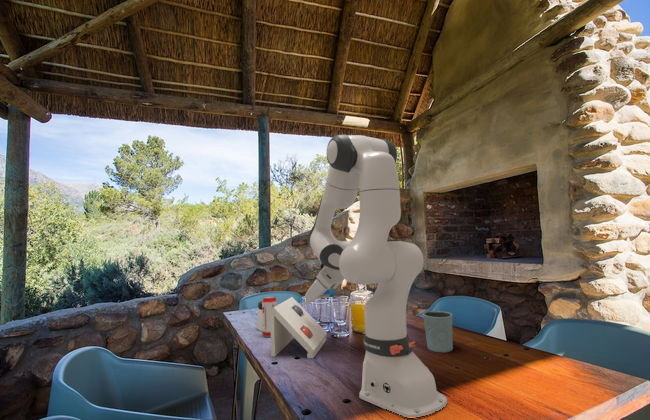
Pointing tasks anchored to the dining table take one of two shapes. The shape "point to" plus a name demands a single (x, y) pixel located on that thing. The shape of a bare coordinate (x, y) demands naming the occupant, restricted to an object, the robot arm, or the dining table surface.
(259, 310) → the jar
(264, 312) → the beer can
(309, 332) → the red button
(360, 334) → the dining table surface
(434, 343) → the grey green cup
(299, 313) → the charcoal button
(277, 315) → the console
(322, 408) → the dining table surface
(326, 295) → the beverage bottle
